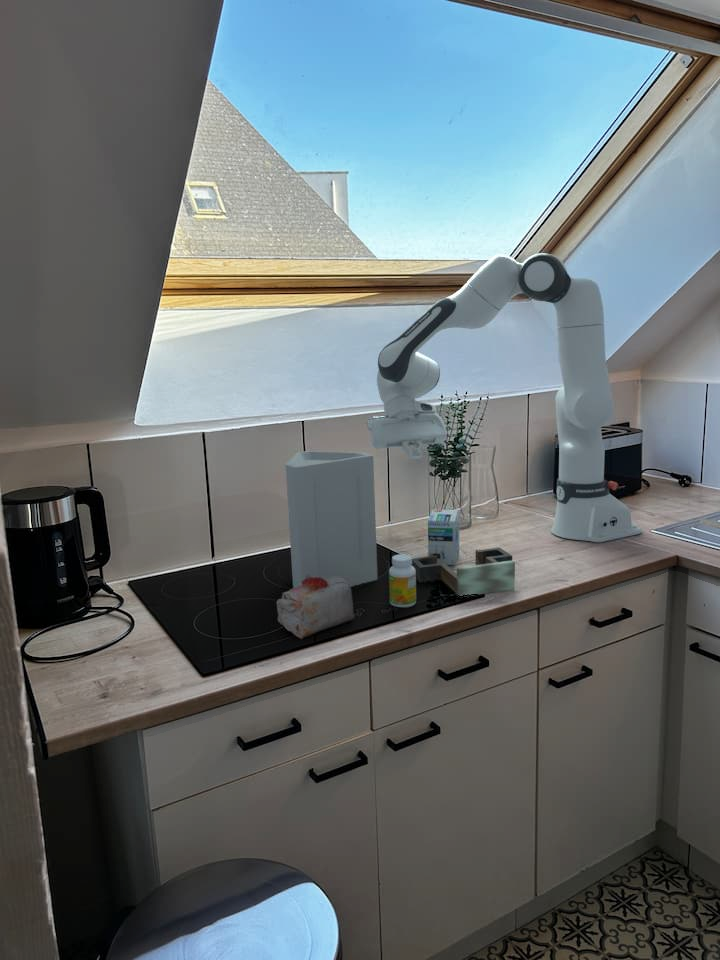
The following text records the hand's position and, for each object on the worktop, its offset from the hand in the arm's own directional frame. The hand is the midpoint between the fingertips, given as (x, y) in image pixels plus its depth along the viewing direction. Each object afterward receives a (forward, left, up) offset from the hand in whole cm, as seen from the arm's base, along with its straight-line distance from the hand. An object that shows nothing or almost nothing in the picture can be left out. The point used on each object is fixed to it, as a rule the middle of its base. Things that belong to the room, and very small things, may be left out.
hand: (415, 457), depth 186 cm
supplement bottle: (+18, +42, -21) cm, 51 cm away
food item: (+37, +47, -21) cm, 64 cm away
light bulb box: (0, +19, -21) cm, 29 cm away
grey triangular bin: (+30, +23, -21) cm, 44 cm away
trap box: (0, +34, -21) cm, 40 cm away
